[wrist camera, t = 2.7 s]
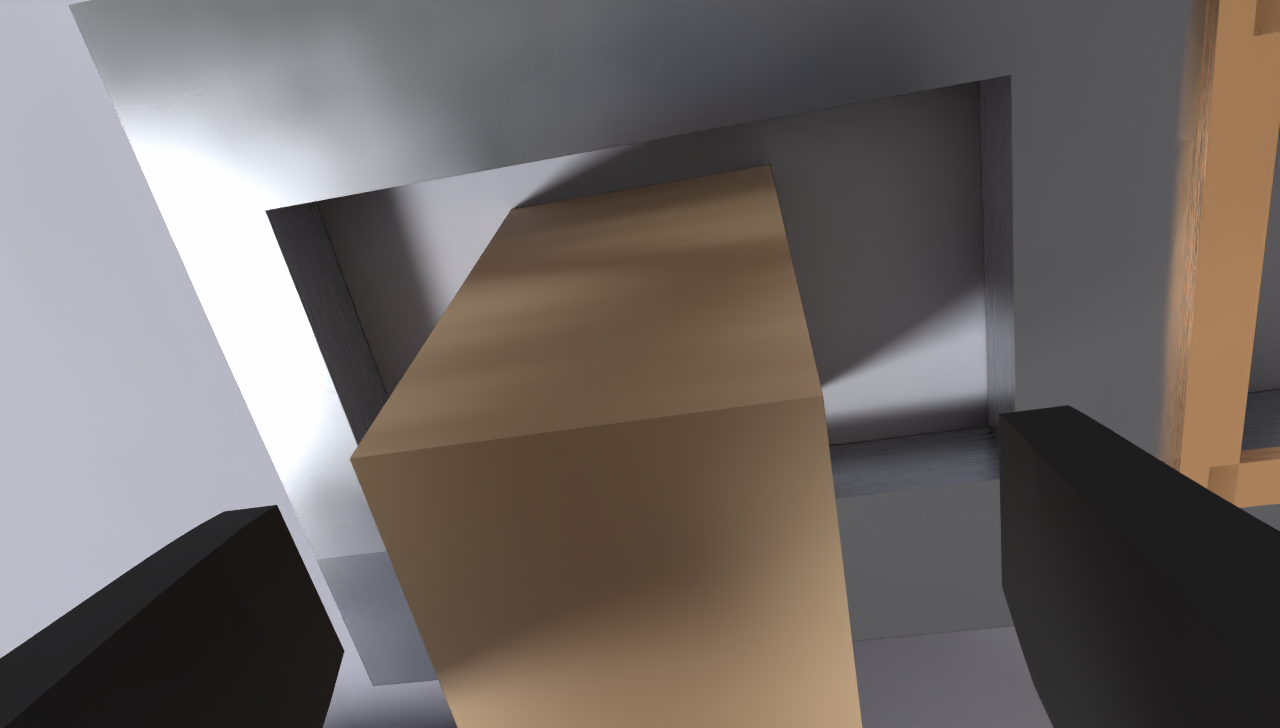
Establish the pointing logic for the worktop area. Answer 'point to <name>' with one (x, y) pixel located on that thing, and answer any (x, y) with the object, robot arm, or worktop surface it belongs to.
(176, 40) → the rail plate
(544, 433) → the oak peg
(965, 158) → the worktop surface
